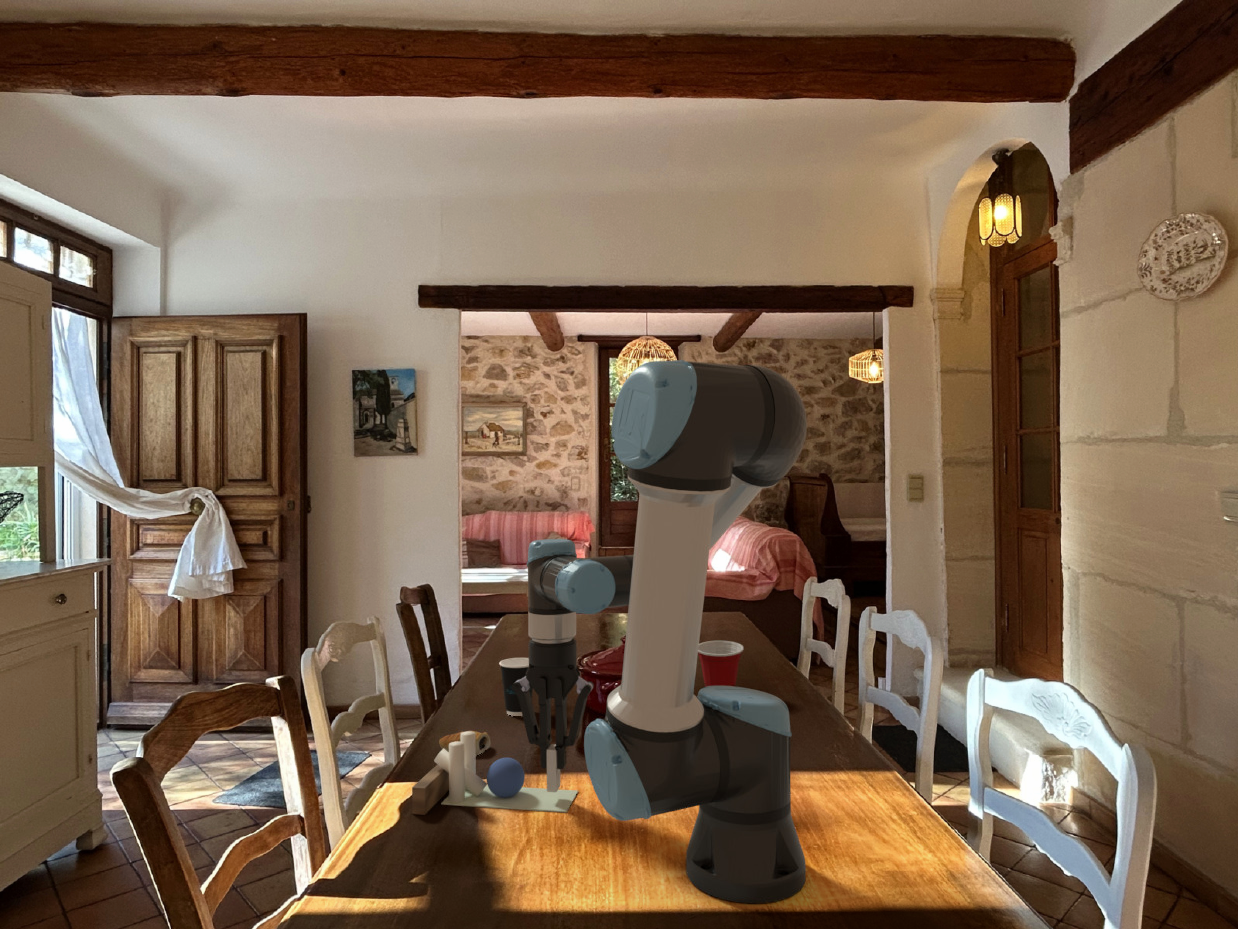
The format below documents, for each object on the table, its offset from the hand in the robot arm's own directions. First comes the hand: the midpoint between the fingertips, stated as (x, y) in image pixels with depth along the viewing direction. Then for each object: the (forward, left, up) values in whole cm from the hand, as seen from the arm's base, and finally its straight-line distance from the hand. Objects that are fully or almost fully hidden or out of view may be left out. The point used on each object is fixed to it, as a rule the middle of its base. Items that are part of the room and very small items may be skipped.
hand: (553, 788), depth 127 cm
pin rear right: (-2, +15, -2) cm, 15 cm away
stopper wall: (0, +19, -2) cm, 19 cm away
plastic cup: (+60, -23, -2) cm, 65 cm away
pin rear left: (+2, +15, -2) cm, 15 cm away
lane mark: (0, +7, -2) cm, 7 cm away
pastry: (+20, +22, -2) cm, 30 cm away
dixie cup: (+44, +19, -2) cm, 48 cm away
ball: (0, +8, +1) cm, 8 cm away
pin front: (0, +12, -1) cm, 12 cm away
